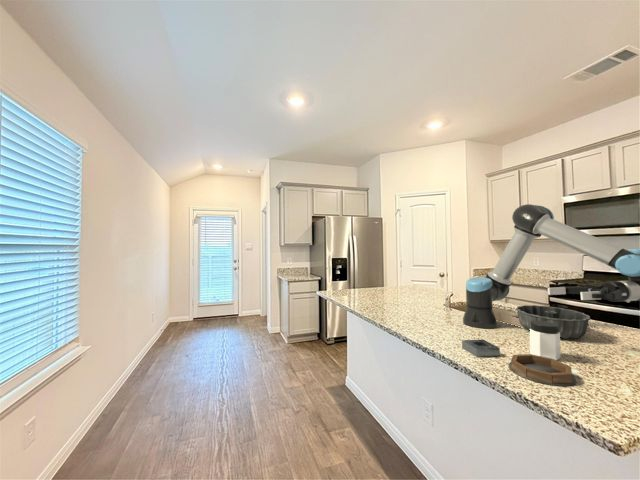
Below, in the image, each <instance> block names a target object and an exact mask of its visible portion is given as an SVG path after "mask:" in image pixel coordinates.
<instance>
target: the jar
mask: <svg viewBox="0 0 640 480" xmlns="http://www.w3.org/2000/svg"><path fill="white" fill-rule="evenodd" d="M529 354H532V355H537V356H542V357H547V358H552V359H555V360H557V361H559V360H560V359H561V338H560V332H559V325H557V324H555V323H551V322H546V321H531V329H530V331H529Z"/></svg>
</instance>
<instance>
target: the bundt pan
mask: <svg viewBox="0 0 640 480" xmlns="http://www.w3.org/2000/svg"><path fill="white" fill-rule="evenodd" d="M515 309H516V311H517V316H518V321H519V323H520V325H521V326H522V327H523V328H524V329H525V330H527V331H528V332H530V331H529V330H530V329H531V321H546V322H551V323H555V324H557V325H559V332H560V337H561V338H560V339H562V338H564V339H563V340H567V339H569V338H571V340H572V339H578V338H582V337H584V336H585V335H586V333H587V329H588V325H589V321H591V316H590V315H588V314H585V313H584V312H580V311H577V310H573V309H567V308H566V309H565V308H563V307H555V306H549V305H535V304H531V305H529V304H524V305H519V306H517V307H515Z"/></svg>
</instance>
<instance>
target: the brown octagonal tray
mask: <svg viewBox="0 0 640 480" xmlns="http://www.w3.org/2000/svg"><path fill="white" fill-rule="evenodd" d="M508 368H509V370H510V371H511V372H512V373H514V374H515V375H517V376H519V377H521V378H523V379H525V380H529V381H532V382H535V383H539V384H542V385H547V386H555V387H571V386H574V385H575V384H577V377H575V375H574V374H572V373H573V372H572V367H571V366H570V365H567V364H566V363H563V362H561V361H559V360H555V359H552V358H547V357H542V356H537V355H532V354H530V353H527V354H526V353H525V354H524V353H522V354H520V353H519V354H513V355H512V357H511V360H510V362H509V363H508Z"/></svg>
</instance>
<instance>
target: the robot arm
mask: <svg viewBox="0 0 640 480" xmlns="http://www.w3.org/2000/svg"><path fill="white" fill-rule="evenodd" d="M511 218H512V222H513V223H514V226H513V229H514V233H513V235H512V237H511V238H510V240H509V242H508V244H507V246H506V247H505V249H504V250H503V253H502V254H501V256H500V257H499V259H498V261H497V263H496V264H495V266H494V268H493V270H492V271H488V272H487V274H486V275H485V277H471V278H469V279H467V280H466V283H465V290H466V291H465V295H466V296H465V298H466V299H465V300H466V301H465V302H466V303H465V304H466V309H465V312H464V314H463V317H462V323H463V324H464V325H467V326H469V327H472V328H479V329H494V328H498V321H497V319H496V317H495V314H494V310H493V302H497V301H501V300H503V299H505V298H506V297H507V296H509V294H510V286H511V285H512V280H511V278H512V277H513V275H514V273H515V272H516V270H517V269H518V267H519V265H520V264H521V262H522V261H523V259H524V257H525V255H526V254H527V252H528V251H529V249H530V247H531V246H532V244H533V242H534V241H535V239H538V238H541V236H544V237H546V238H548V239H551V240H552V241H555V242H557V243H559V244H561V245H563V246H565V247H567V248H569V249H572V250H575V251H576V252H579V253H580V254H582V255H585V256H587V257H589V258H592V259H593V260H595V261H598V262H600V263H602V264H605V265H606V266H608V267H611V268H612V269H615V270H616V271H618V272H619V273H620V274H621V275H623V276H627V278H628V280H615V281H613V280H612V281H605V282H603V283H602V284H601V285H595V286H559V287H558V286H557V287H547V294H548V296H554V295H555V296H557V295H562V296H566V294H567V295H568V294H570V295H571V294H573V295H580V300H581V301H596V300H597V301H598V300H604V301H608V302H611V303H612V302H613V303H615V302H617V303H619V302H626V303H631V302H639V301H640V248H629V249H624V248H623V247H620V246H618V245H616V244H613V243H611V242H609V241H606V240H603V239H601V238H599V237H596V236H594V235H591V234H589V233H587V232H584V231H582V230H579V229H577V228H575V227H573V226H570V225H567V224H566V223H563V222H561V221H558V220H556V219H555V215H554V213H553V212H552V210H551V209H549V208H547V207H545V206H542V205H537V204H530V203H527V204H523V205H520V206H518V207H516V209H515V210H514V211H513V213H512V217H511Z"/></svg>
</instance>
